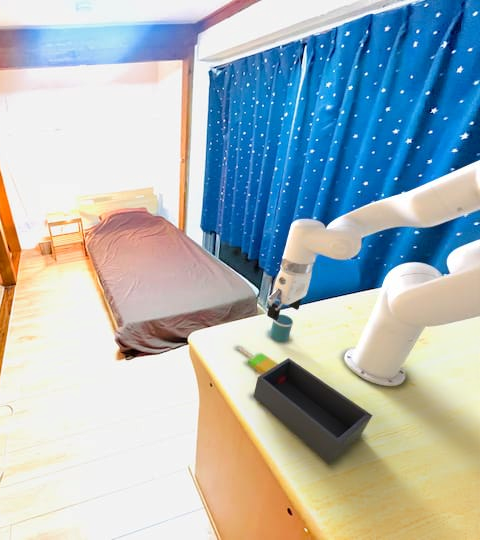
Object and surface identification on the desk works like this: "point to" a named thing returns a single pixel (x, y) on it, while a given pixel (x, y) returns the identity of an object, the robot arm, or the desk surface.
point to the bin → (311, 409)
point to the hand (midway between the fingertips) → (282, 312)
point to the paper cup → (281, 328)
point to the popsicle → (261, 363)
